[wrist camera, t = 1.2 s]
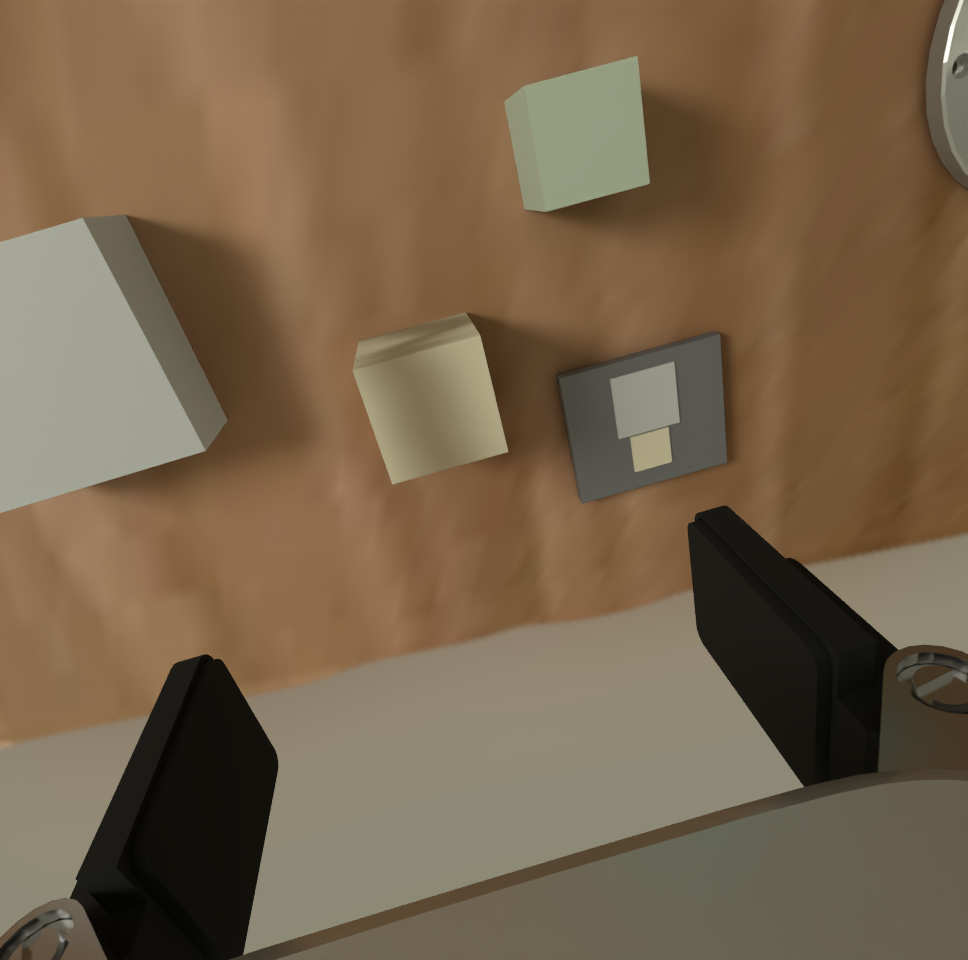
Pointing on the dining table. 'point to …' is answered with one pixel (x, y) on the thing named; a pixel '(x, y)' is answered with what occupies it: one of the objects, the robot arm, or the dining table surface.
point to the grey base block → (91, 364)
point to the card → (645, 416)
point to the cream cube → (429, 397)
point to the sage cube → (579, 136)
